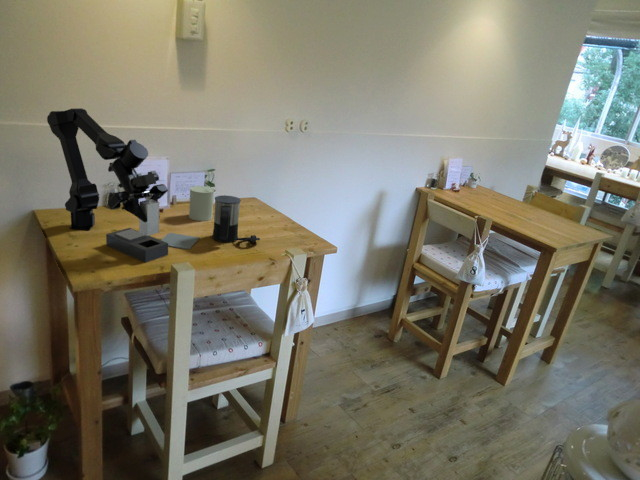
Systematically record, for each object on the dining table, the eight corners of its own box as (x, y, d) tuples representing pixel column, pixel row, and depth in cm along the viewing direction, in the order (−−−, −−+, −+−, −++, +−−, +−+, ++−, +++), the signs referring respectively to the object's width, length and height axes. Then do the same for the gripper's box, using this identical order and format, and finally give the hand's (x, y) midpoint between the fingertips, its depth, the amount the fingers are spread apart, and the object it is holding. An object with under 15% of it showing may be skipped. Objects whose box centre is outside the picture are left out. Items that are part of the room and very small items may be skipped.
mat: (156, 244, 162) (156, 243, 162) (169, 233, 172) (169, 232, 172) (189, 249, 162) (189, 248, 162) (199, 238, 172) (199, 237, 172)
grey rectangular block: (139, 232, 150) (139, 201, 146) (150, 229, 153) (151, 199, 150) (147, 235, 148) (147, 204, 145) (158, 232, 152) (159, 202, 148)
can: (200, 222, 187) (202, 192, 183) (183, 216, 191) (184, 186, 187) (217, 218, 194) (219, 189, 190) (200, 211, 199) (202, 183, 194)
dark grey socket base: (106, 245, 156) (106, 232, 154) (129, 238, 164) (129, 226, 162) (145, 262, 148) (145, 248, 147) (168, 254, 156) (168, 241, 154)
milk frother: (209, 233, 178) (212, 194, 173) (251, 232, 184) (255, 195, 179) (217, 248, 166) (220, 207, 161) (262, 247, 172) (266, 207, 167)
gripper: (113, 165, 137) (140, 213, 136) (164, 159, 153) (189, 201, 152) (96, 186, 143) (121, 231, 143) (147, 177, 159) (170, 218, 158)
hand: (152, 219), depth 149 cm, fingers closed on grey rectangular block, 4 cm apart
